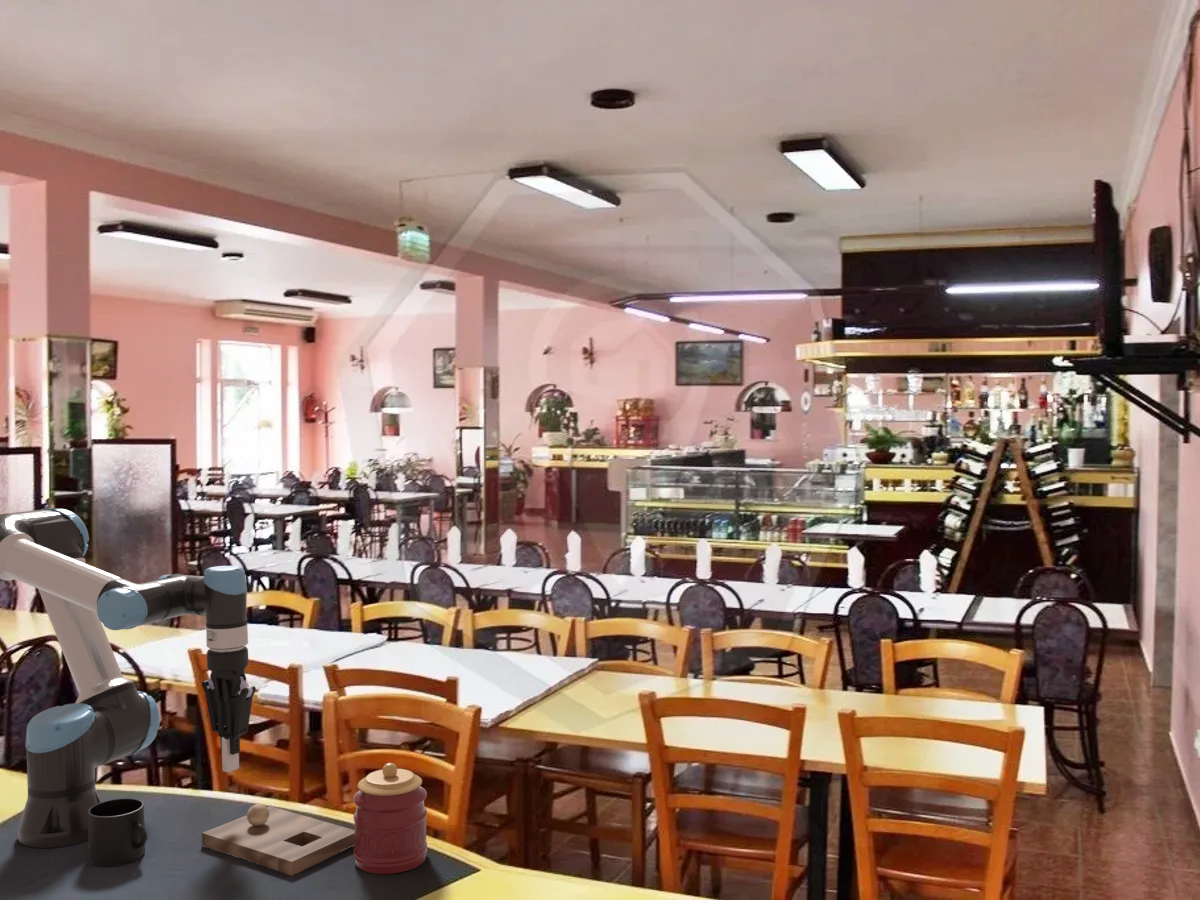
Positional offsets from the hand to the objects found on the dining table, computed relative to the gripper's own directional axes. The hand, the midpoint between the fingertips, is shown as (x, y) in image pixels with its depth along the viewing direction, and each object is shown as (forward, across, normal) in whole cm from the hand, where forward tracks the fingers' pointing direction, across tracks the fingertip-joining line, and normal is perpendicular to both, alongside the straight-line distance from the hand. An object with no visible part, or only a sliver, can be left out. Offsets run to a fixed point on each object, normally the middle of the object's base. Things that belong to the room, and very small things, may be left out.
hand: (230, 769), depth 212 cm
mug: (+12, -7, -19) cm, 23 cm away
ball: (+7, +8, 0) cm, 11 cm away
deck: (+12, +13, 0) cm, 18 cm away
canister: (+13, +35, +6) cm, 38 cm away
